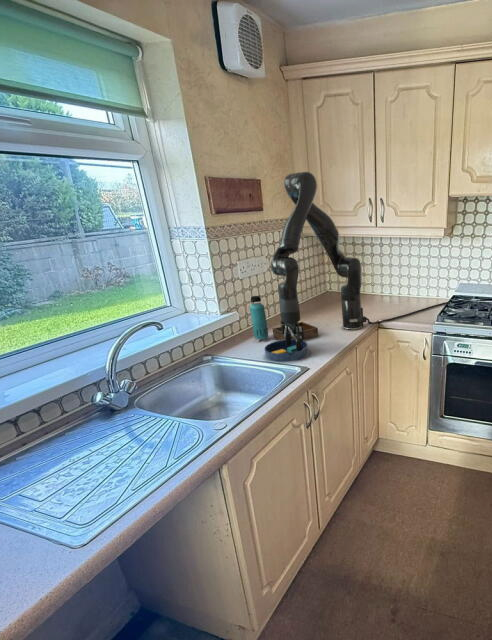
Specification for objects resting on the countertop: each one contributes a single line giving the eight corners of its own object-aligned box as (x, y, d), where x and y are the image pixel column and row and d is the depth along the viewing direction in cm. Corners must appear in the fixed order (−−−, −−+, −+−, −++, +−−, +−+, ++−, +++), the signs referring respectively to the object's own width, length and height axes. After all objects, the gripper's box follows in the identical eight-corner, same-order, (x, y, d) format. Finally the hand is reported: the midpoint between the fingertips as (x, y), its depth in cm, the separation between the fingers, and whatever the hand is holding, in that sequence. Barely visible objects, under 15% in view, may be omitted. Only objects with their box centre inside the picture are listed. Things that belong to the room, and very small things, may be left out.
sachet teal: (298, 349, 171) (297, 344, 170) (302, 351, 169) (301, 346, 168) (287, 352, 168) (286, 347, 167) (291, 354, 166) (291, 349, 165)
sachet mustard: (283, 353, 167) (282, 348, 166) (287, 355, 165) (286, 351, 164) (272, 356, 164) (271, 351, 163) (276, 358, 162) (275, 354, 161)
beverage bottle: (256, 343, 180) (249, 298, 172) (253, 339, 186) (246, 295, 177) (270, 341, 183) (264, 296, 175) (267, 337, 188) (261, 293, 180)
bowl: (295, 345, 178) (294, 336, 176) (316, 355, 166) (316, 346, 164) (258, 354, 168) (257, 346, 166) (278, 366, 156) (277, 357, 154)
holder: (303, 330, 196) (302, 321, 194) (318, 337, 187) (317, 327, 185) (273, 338, 187) (272, 328, 185) (288, 345, 177) (287, 335, 175)
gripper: (307, 310, 158) (311, 350, 165) (289, 304, 168) (293, 341, 175) (290, 314, 154) (294, 354, 161) (272, 307, 164) (277, 345, 170)
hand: (294, 347), depth 168 cm, fingers open, 8 cm apart
